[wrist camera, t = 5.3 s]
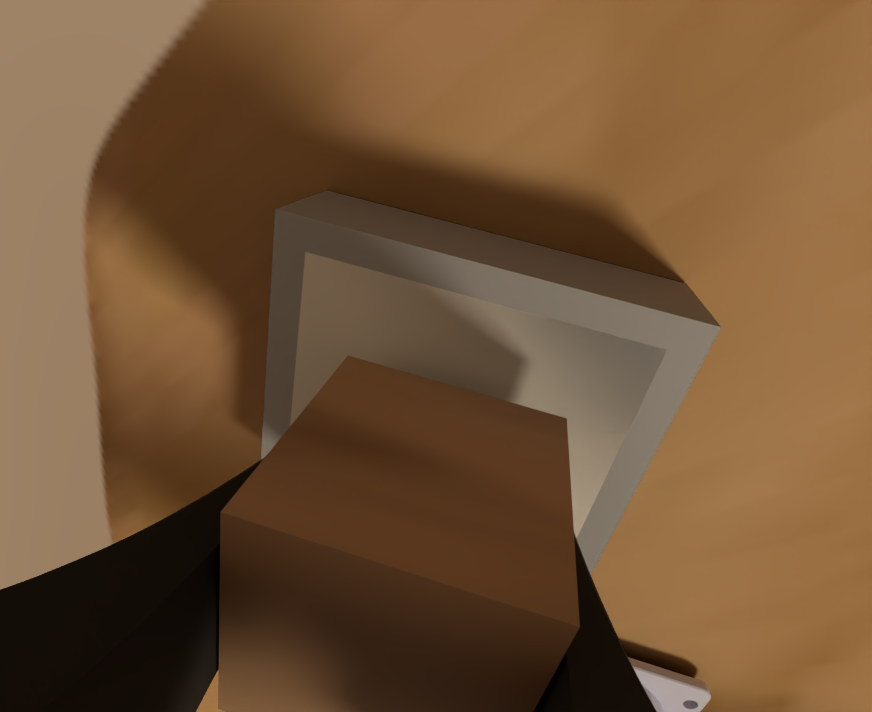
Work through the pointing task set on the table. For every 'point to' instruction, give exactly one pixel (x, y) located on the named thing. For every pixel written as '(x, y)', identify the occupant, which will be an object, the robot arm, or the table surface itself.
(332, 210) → the grey plinth
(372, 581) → the walnut cube
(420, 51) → the table surface
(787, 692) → the table surface
